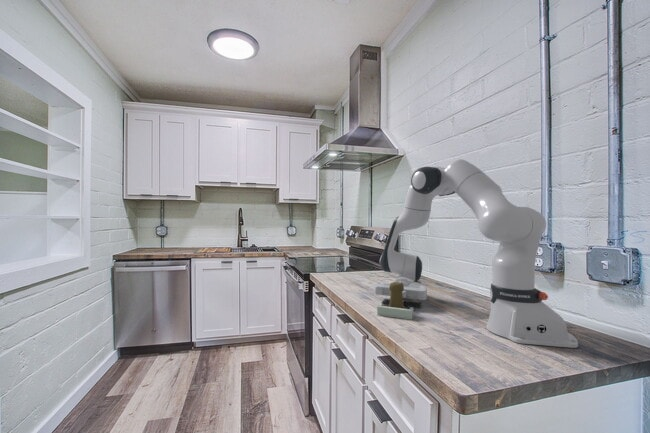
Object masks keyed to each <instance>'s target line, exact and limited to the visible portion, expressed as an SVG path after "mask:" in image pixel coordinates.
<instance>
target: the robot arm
mask: <svg viewBox="0 0 650 433" xmlns="http://www.w3.org/2000/svg"><path fill="white" fill-rule="evenodd" d="M410 179H411V180H410V185H409V187H408V190H407V192H406V195H405V200H404V206H403V210H402V212H401V213H400V215H399V216H396V217H395V218H394V220H393V223H392V225H391V227H390V230H389V233H388V235H387V239H386V242H385V245H384V249H383V252H382V253H381V256H380V258H379V267H380V268H381V269H382V271H383V272H384V273H393V274H398V276H397V278H396V279H395V280H394V281H393V282H399V283H402V284H403V286H404V290H403V291H402V295H403V300H407V299H408V300H411V299H413V300H421V301H426V300H428V299H427V297H428V289H427V286H425V282H423V281H420V279H421V277H422V272H423V261H422V259H421V258H420V256H418V255H414V254H410V253H404V252H400V251H399V252H398V251H396V250H395V247H396V244H397V241H398V238H399V235H400V234H401V233H402V232H405V231H411V230H416V229H420V228H422V227H423V226H425V225H427V223H428V221H429V219H430V215H431V212H432V204H433V200H434V199H435V198H436V197H437V196H439V197H445V196H450V195H451V196H452V195H454V194H456V195H457V196H458V197H460V199H461V200H462V201H464V203H465V204H466V205H467V206H468V207H469V208H470V209H471V211H472V212H473V213H474V215H475V217H476V219H477V220H478V224H477V225H478V229H479V231H480V234H482V235H483V236H484V237H485V238H487V239H489V240H491V241H494V242H499V246H498V249H497V252H496V253H495V255H494V256H493V258H492V265H491V266H492V268H491V269H492V271H491V274H492V276H491V277H492V279H491V281H492V282H491V284H490V287H489V290H490V291H489V294H490V295H489V296H490V297H489V298H490V302H491V304H490V311H489V315H488V321H487V323H486V325H485V328H486V329H487V330H488V331H489V332H491V333H492V334H495V335H497V336H499V337H502V338H505V339H509V340H510V341H512V342H514V343H517V344H522V345H523V344H525V345H536V346H546V347H559V348H570V349H577V348H578V347H579V341H578V339H577V338H576V337H575V336H574V335H573V334H572V333H570V332H568V326H567V323H566V321H565V320H564V318H563V317H562V316H561V315H560V314H558V313H557V312H556V311H555V310H554V309H552V308H551V307H549V305H547V304H546V303H544V302H543V301H546V300H549V295H548V293H546V292H543V291H541V290H539V289H537V288H535V278H536V277H535V276H536V275H535V272H536V271H535V270H536V260H537V253H538V250H539V246H540V241H541V238H542V235H543V233H545V231H546V228H547V221H546V218H545V217H544V215H543V214H542V213H541V212H539V211H538V210H536V209H534V208H531V207H528V206H517V205H515V204H513V203H511V202H510V201H509V200H508V199H507V197H506V196H505V195H504V193H503V191H502V190H503V189H502V188H501V186H500V185H499V184H497V183H496V182H495V180H493V179H492V178H491V177H489V176H488V175H487V174H486V173H485V172H483V170H481V169H480V168H478V166H476V165H474V164H473V163H471V162H469V161H467V160H466V159H456V160H453V161H452V162H450V163H449V164H448V165H447V166H446V167H441V166H422V167H418V168H416V170H414V171H413V173H412V175H411V178H410ZM390 284H391V283H386V282H381V283H378V284H376V285H375V286H374V294H375V295H376V296H385V297H390V295H391V291H390V288H389V286H390Z"/></svg>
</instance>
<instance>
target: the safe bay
mask: <svg viewBox="0 0 650 433" xmlns="http://www.w3.org/2000/svg"><path fill="white" fill-rule="evenodd" d="M376 308H377V311H376V315H377V316H382V317H389V318H398V319H406V320H410V321H411V320H413V317H414V308H413V307H409V309H408V308H404V309H403V308H395V307H389V306H388V305H387V306H385V305H384V304H382V302H380V303H378V305H377V307H376Z"/></svg>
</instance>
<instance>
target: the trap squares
mask: <svg viewBox="0 0 650 433" xmlns="http://www.w3.org/2000/svg"><path fill="white" fill-rule="evenodd" d="M389 302H390V298H383V300H382V301H381V303H382V304H383V305H387V306H389ZM403 303H404V308H410V307H413V309H421V306H422V302H419V301H412V300H411V301H410V300H403Z"/></svg>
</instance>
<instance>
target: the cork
mask: <svg viewBox="0 0 650 433" xmlns="http://www.w3.org/2000/svg"><path fill="white" fill-rule="evenodd" d="M389 284H390V286H389V288H390V291H391V295H390V296H389V299H390V302H389V305H388V307H395V308H403V309H405V307H404V303H403V301H404V299H403V295H402V291H403V290H404V286H403V284H402V283H399V282H394V281H393V282H390V283H389Z"/></svg>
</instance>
